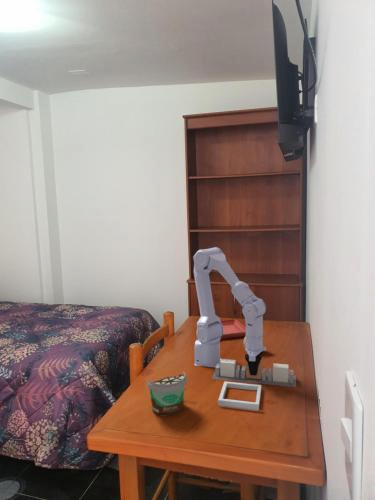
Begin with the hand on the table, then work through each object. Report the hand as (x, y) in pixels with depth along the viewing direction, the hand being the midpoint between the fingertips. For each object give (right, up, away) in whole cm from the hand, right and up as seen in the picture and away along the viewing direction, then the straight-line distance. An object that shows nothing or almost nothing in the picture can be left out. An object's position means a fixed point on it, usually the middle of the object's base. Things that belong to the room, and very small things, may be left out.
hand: (253, 372), depth 131 cm
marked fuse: (0, -1, 0) cm, 1 cm away
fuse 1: (-9, -2, +2) cm, 9 cm away
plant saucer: (-6, +3, +47) cm, 47 cm away
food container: (-28, -6, -19) cm, 34 cm away
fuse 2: (+9, -2, -2) cm, 9 cm away
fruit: (+4, +1, +23) cm, 23 cm away
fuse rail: (0, -2, 0) cm, 2 cm away
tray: (-6, -4, -12) cm, 15 cm away
